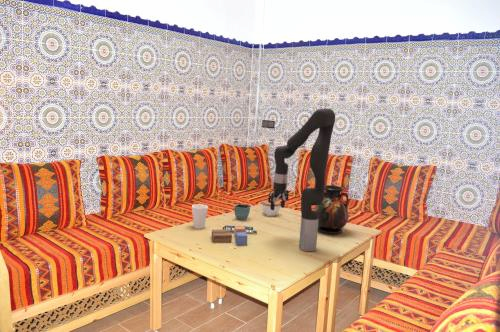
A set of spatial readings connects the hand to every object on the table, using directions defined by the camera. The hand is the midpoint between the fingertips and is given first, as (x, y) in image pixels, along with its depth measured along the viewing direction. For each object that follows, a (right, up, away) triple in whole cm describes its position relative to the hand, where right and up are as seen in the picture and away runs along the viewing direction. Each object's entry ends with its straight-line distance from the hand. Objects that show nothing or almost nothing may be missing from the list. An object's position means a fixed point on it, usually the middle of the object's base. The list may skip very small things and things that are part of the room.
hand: (277, 208), depth 224 cm
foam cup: (-47, -13, +15) cm, 51 cm away
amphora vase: (+34, -17, +21) cm, 43 cm away
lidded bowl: (-1, -10, +50) cm, 51 cm away
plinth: (-32, -17, -4) cm, 36 cm away
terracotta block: (-22, -16, +2) cm, 27 cm away
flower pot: (-21, -11, +36) cm, 43 cm away
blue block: (-21, -18, -9) cm, 29 cm away
